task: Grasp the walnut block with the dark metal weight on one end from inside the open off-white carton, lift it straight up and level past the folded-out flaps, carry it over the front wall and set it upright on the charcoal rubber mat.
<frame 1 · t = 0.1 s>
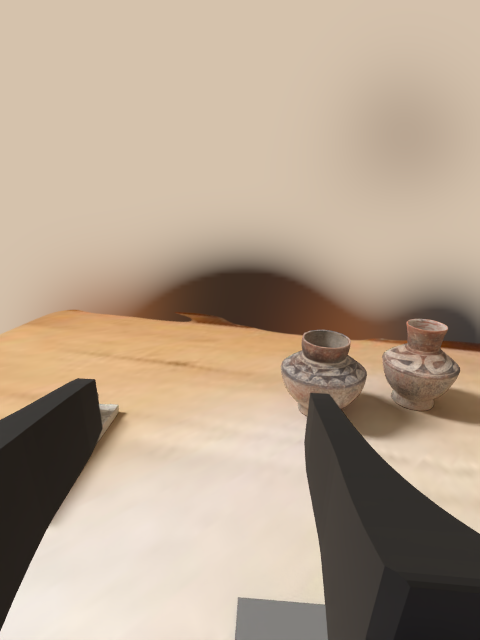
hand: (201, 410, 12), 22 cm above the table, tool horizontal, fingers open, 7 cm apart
pottery: (363, 406, 53), on the table
packaged product: (47, 456, 43), on the table
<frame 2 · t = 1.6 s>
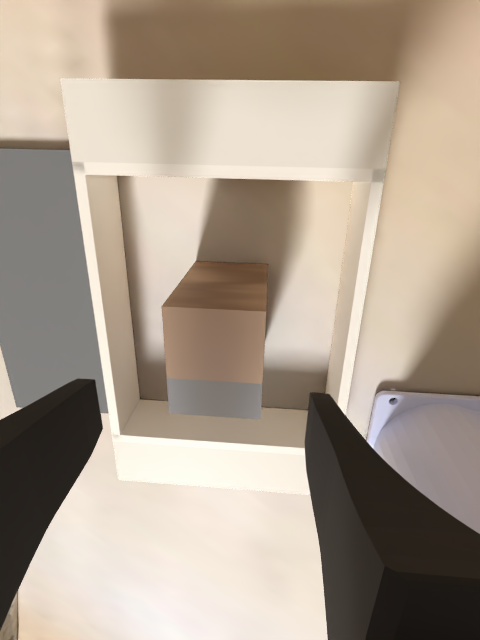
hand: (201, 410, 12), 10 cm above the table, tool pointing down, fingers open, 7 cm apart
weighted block: (224, 330, 18), in the carton
carton: (231, 305, 21), on the table
mat: (47, 296, 22), on the table
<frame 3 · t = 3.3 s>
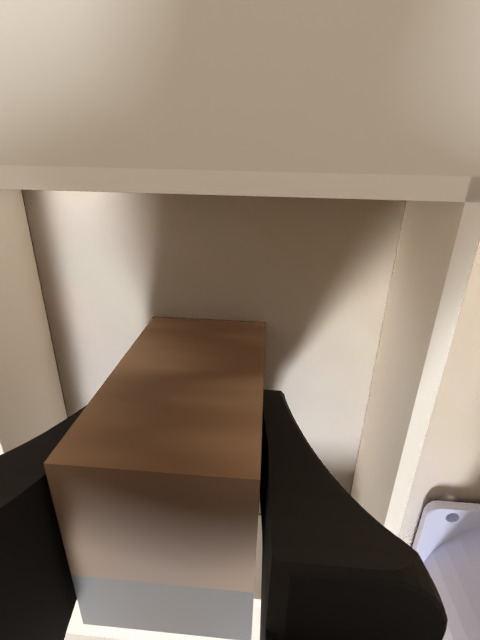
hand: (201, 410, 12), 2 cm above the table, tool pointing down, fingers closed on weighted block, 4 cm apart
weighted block: (191, 444, 11), in the carton, touching gripper
carton: (209, 380, 14), on the table
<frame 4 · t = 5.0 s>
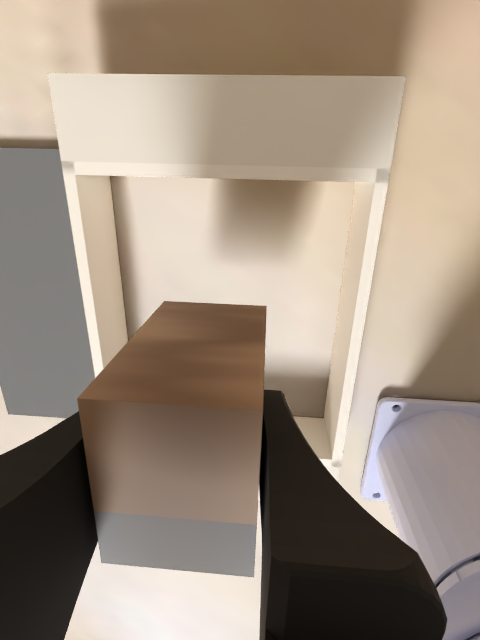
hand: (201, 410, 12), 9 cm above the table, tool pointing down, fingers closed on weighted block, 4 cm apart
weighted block: (199, 410, 12), point 9 cm above the table, touching gripper
carton: (228, 309, 21), on the table
mat: (39, 300, 21), on the table
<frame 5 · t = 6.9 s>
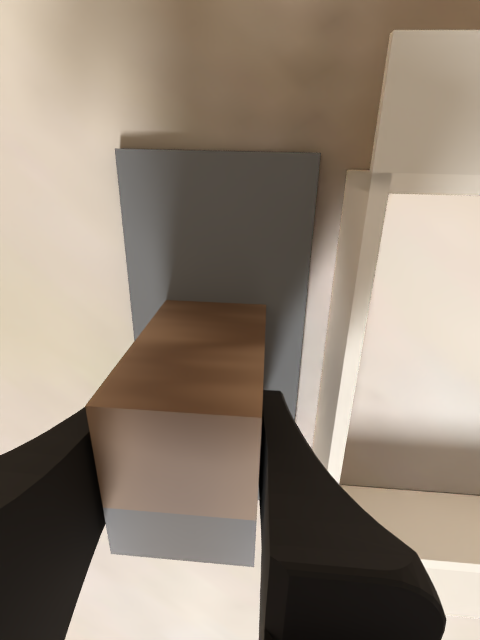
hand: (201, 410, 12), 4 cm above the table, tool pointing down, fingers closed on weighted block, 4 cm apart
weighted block: (201, 408, 12), on the mat, touching gripper
mat: (218, 354, 16), on the table
when the fingers open (4 cm above the table, at t = 7.7 s): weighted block stays where it is, resting on mat.
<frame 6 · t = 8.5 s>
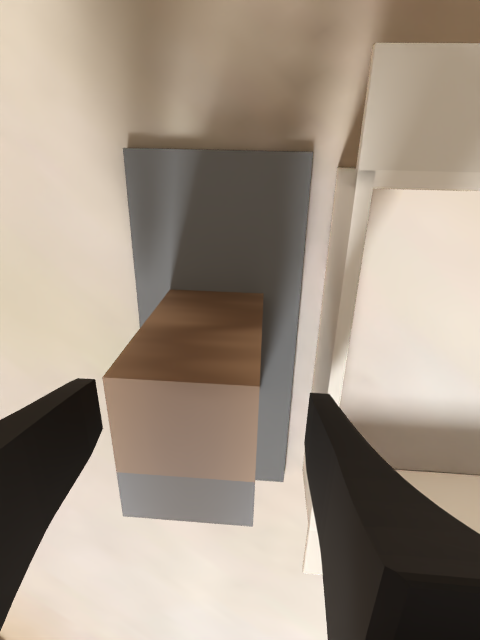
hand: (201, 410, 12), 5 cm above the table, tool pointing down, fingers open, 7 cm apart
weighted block: (204, 387, 14), on the mat
carton: (464, 353, 16), on the table
mat: (218, 340, 17), on the table
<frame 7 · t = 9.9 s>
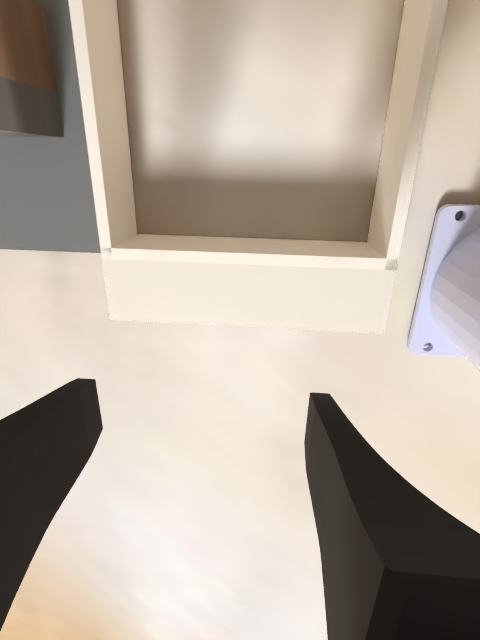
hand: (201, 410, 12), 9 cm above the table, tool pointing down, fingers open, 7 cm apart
carton: (254, 80, 17), on the table
mat: (18, 78, 17), on the table
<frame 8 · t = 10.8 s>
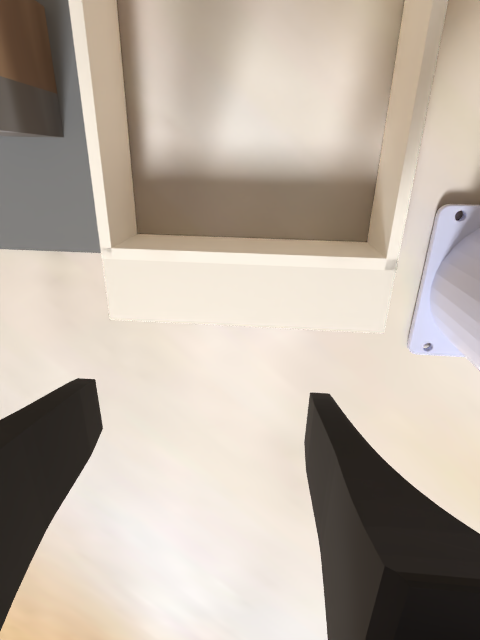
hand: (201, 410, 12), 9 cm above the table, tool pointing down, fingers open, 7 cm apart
carton: (254, 80, 17), on the table
mat: (18, 78, 17), on the table
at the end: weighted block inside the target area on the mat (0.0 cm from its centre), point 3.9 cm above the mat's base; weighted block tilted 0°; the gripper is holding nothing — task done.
